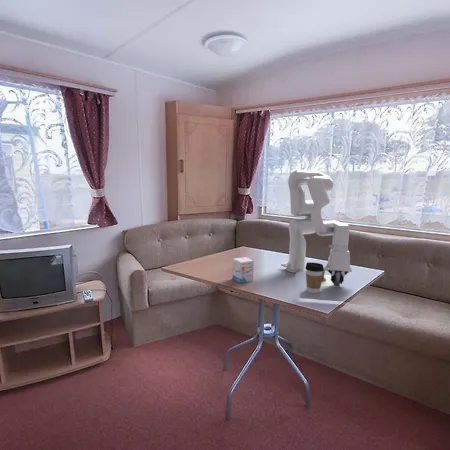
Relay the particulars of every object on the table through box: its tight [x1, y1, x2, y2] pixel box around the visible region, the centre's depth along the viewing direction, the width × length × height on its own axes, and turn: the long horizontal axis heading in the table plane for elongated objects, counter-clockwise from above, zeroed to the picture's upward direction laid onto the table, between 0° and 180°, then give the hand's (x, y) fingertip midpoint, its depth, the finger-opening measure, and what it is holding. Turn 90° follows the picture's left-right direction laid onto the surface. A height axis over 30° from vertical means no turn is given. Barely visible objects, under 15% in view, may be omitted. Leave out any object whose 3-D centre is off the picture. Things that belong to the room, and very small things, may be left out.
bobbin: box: [321, 266, 327, 282], centre depth 166 cm, size 6×6×6 cm
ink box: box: [232, 256, 254, 284], centre depth 169 cm, size 9×8×12 cm
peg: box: [334, 271, 341, 286], centre depth 158 cm, size 3×3×8 cm
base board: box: [321, 274, 343, 288], centre depth 166 cm, size 12×19×2 cm, turn 170°
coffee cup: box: [305, 261, 324, 294], centre depth 150 cm, size 8×8×15 cm
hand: (336, 282), depth 158 cm, fingers closed on peg, 3 cm apart
